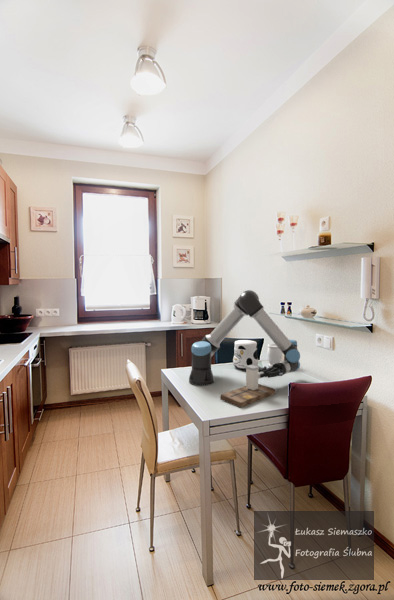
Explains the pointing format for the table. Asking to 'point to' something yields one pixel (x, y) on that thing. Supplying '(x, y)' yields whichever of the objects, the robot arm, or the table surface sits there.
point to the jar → (274, 354)
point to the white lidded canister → (252, 377)
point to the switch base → (247, 395)
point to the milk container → (245, 353)
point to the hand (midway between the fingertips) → (255, 376)
